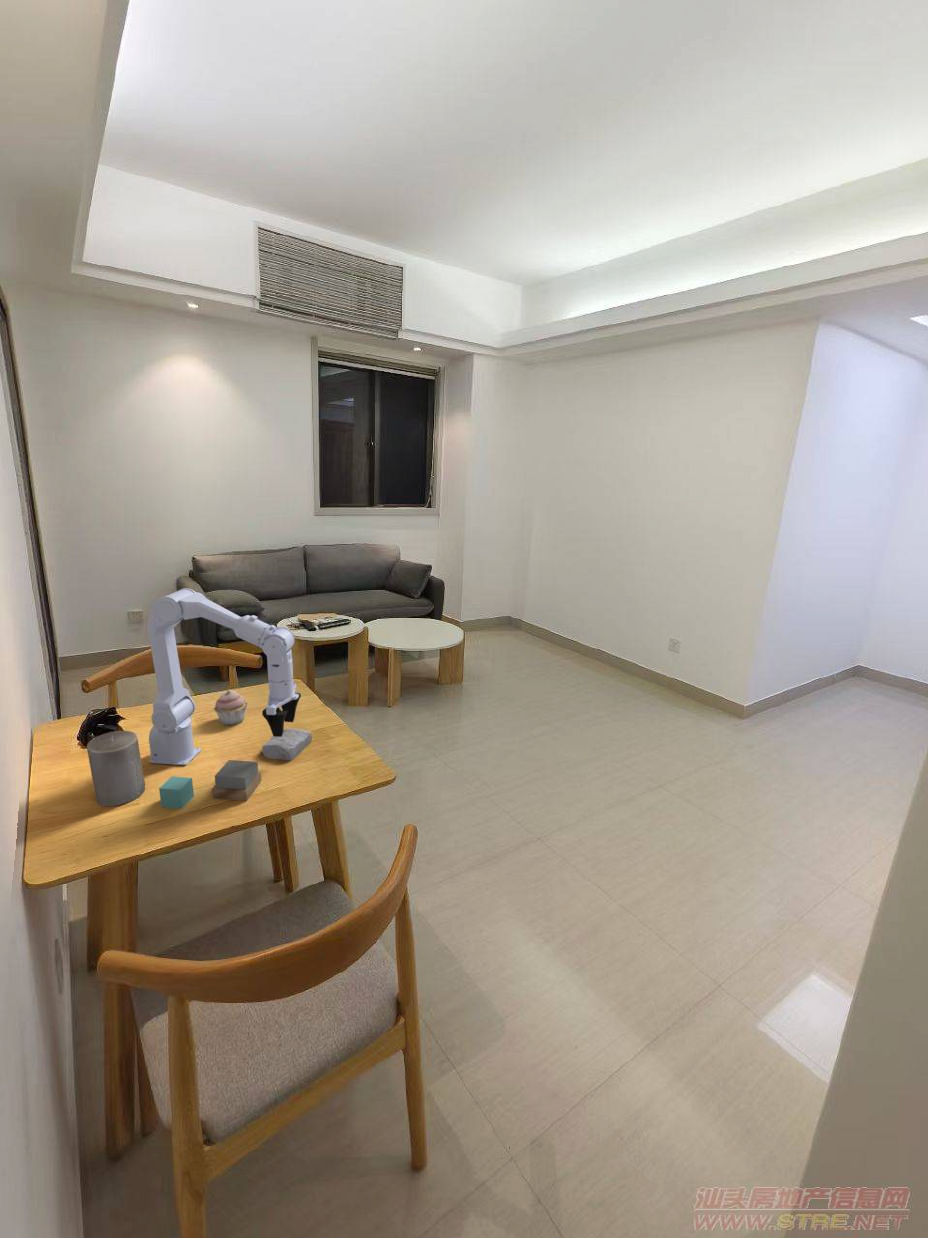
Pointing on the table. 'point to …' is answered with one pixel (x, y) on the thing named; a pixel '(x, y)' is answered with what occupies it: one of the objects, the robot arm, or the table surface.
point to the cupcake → (230, 708)
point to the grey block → (236, 774)
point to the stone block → (287, 744)
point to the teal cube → (176, 792)
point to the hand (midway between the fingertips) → (283, 728)
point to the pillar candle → (116, 768)
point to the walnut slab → (237, 791)
